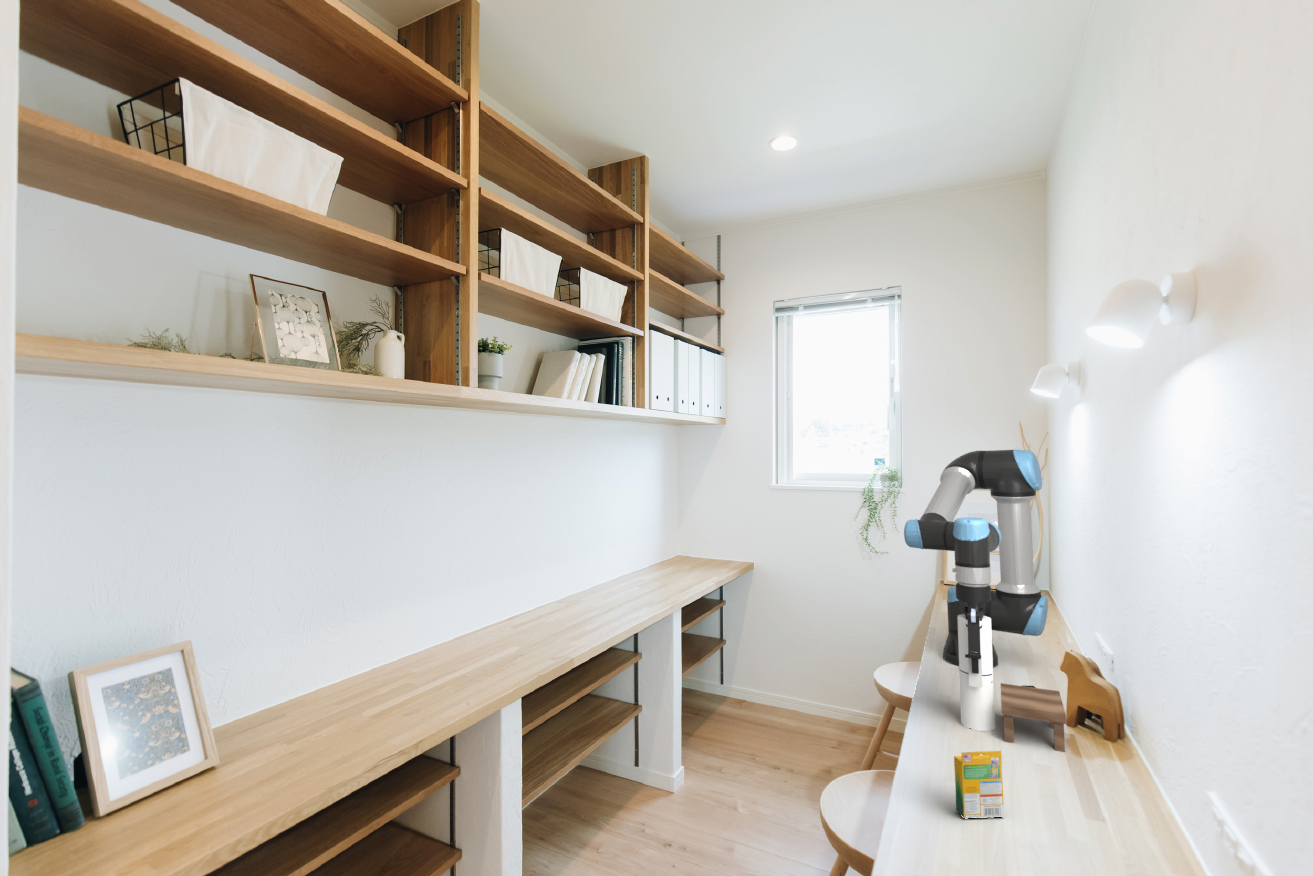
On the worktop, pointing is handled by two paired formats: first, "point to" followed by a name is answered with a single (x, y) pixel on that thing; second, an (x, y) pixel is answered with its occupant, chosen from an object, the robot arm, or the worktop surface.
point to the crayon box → (979, 784)
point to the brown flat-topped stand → (1033, 710)
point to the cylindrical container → (981, 700)
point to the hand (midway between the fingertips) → (976, 679)
